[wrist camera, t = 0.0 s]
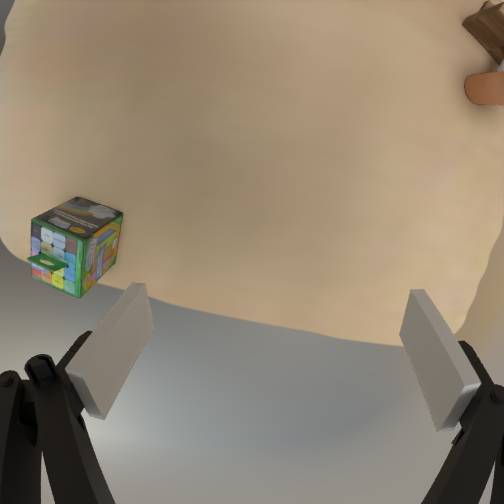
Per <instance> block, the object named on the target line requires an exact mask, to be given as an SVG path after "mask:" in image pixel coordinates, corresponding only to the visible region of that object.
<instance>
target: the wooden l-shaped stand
mask: <svg viewBox="0 0 504 504" xmlns="http://www.w3.org/2000/svg"><path fill="white" fill-rule="evenodd" d="M462 25H463V26H464V27H465V28H466V29H467V30H468V31H469V32H470V33H471V34H472V35H473V36H474V37H475V38H476V39H477V40H478V42H479V43H480V44H481V45H482V46H483V47H484V48H485V49H486V50H487V51H488V53H489V54H490V55H491V56H492V57H493V58H494V59H495V61H496V62H497V63H498V64H499V65H500V64H501V63H502V61H503V59H504V2H502V3H500V4H497V5H495V6H494V5H493V4H492V3H491V1H490V0H488V1H486V2H485V3H484V4H483V6H482V8H481V9H480V11H479V12H478V13H476V14H473V15H471V16H469V17H467V18H466V20H465V21H464V23H463V24H462Z"/></svg>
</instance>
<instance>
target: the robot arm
mask: <svg viewBox="0 0 504 504" xmlns="http://www.w3.org/2000/svg"><path fill="white" fill-rule="evenodd" d="M154 328H155V327H154V324H153V318H152V314H151V310H150V305H149V299H148V294H147V289H146V284H144V283H132V284H131V285H130V286H129V287H128V288H127V290H126V291H125V292H124V293H123V294H122V296H121V297H120V298H119V299H118V301H117V302H116V303H115V304H114V305H113V307H112V308H111V309H110V311H109V312H108V313H107V314H106V315H105V317H104V318H103V319H102V321H101V322H100V323H99V324H98V326H97V327H96V328H95V329H94V331H93V332H92V331H87V332H85V333H84V334H82V335H81V336H79V337H78V339H77V340H76V341H75V343H74V344H73V345H72V346H71V347H70V349H69V351H67V353H66V354H65V355H64V356H63V358H62V359H61V360H60V362H59V363H58V364H57V365H56V366H55V364H54V362H53V360H52V357H50V356H49V355H46V354H40V355H36V356H34V357H32V358H31V359H29V360H28V361H27V363H26V364H25V368H24V370H25V372H26V373H27V375H28V377H29V379H30V380H21V378H20V376H19V375H18V373H17V372H15V371H12V370H9V371H5V372H3V373H1V374H0V504H41V458H42V452H43V457H44V462H45V466H46V471H47V475H48V479H49V483H50V487H51V490H52V494H53V497H54V501H55V504H115V501H114V499H113V497H112V495H111V493H110V490H109V488H108V486H107V483H106V481H105V478H104V476H103V474H102V471H101V468H100V466H99V463H98V460H97V458H96V455H95V452H94V450H93V447H92V444H91V441H90V438H89V435H88V432H87V429H86V425H85V422H84V419H83V417H82V415H81V412H82V410H83V408H85V409H86V411H87V413H88V414H89V416H91V417H95V418H98V419H102V420H105V418H106V416H107V414H108V412H109V410H110V408H111V406H112V405H113V403H114V401H115V399H116V397H117V395H118V393H119V391H120V389H121V388H122V386H123V384H124V382H125V380H126V378H127V377H128V375H129V373H130V371H131V369H132V367H133V365H134V364H135V362H136V360H137V358H138V356H139V355H140V353H141V351H142V349H143V347H144V346H145V344H146V342H147V340H148V339H149V337H150V335H151V333H152V331H153V329H154ZM399 335H400V337H401V340H402V342H403V344H404V347H405V349H406V352H407V354H408V356H409V359H410V361H411V364H412V366H413V369H414V371H415V374H416V376H417V379H418V381H419V384H420V386H421V389H422V392H423V394H424V397H425V400H426V402H427V405H428V408H429V410H430V413H431V416H432V419H433V422H434V425H435V428H436V431H437V433H441V432H445V431H451V430H453V429H454V428H455V426H456V425H457V423H458V422H459V421H460V424H461V427H462V428H461V430H460V431H459V433H458V434H457V436H456V437H455V439H454V440H453V441H452V444H453V446H452V448H451V450H450V452H449V454H448V456H447V458H446V460H445V462H444V464H443V466H442V468H441V470H440V472H439V474H438V475H437V477H436V479H435V481H434V483H433V484H432V486H431V488H430V490H429V491H428V493H427V495H426V497H425V498H424V500H423V502H422V503H421V504H478V503H479V501H480V498H481V496H482V494H483V491H484V489H485V486H486V484H487V481H488V479H489V476H490V474H491V471H492V468H493V465H494V462H495V471H494V479H493V487H492V494H491V500H490V504H504V387H503V386H501V385H497V384H495V385H494V383H493V381H492V380H491V378H490V376H489V374H488V373H487V371H486V369H485V368H484V366H483V364H482V363H481V361H480V359H479V358H478V357H477V354H476V353H475V351H474V350H473V348H472V347H471V346H470V345H469V344H468V343H466V342H465V341H457V340H456V338H455V336H454V335H453V333H452V331H451V330H450V328H449V327H448V325H447V323H446V322H445V320H444V319H443V317H442V316H441V314H440V313H439V311H438V310H437V308H436V306H435V305H434V303H433V302H432V300H431V299H430V298H429V296H428V295H427V293H426V292H425V290H424V289H415V290H410V294H409V299H408V303H407V307H406V311H405V315H404V319H403V323H402V326H401V330H400V334H399ZM495 459H496V460H495Z"/></svg>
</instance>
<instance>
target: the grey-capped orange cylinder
mask: <svg viewBox="0 0 504 504" xmlns="http://www.w3.org/2000/svg"><path fill="white" fill-rule="evenodd" d="M465 91H466V94H467V96H468V98H469V99H470V100H471V101H472V102H473V103H475V104H478V105H504V59H503V61H502V63H501V64H500V66H499V68H498V70H497V71H496V72H489V73H481V74H474V75H470V76H468V77H467V79H466V81H465Z"/></svg>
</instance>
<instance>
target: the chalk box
mask: <svg viewBox="0 0 504 504" xmlns="http://www.w3.org/2000/svg"><path fill="white" fill-rule="evenodd" d="M122 216H123V213H121V212H119V211H116V210H113V209H111V208H108V207H105V206H102V205H100V204H96V203H94V202H91V201H88V200H85V199H82V198H80V197H75V198H74V199H72V200H70V201H67V202H65V203H63V204H61V205H59V206H57V207H55V208H53V209H51V210H49V211H47V212H45V213H43V214H41V215H39V216H37V217H35V218H32V219H31V257H28V258H27V260H28V261H30V262H31V276H32V277H33V278H35V279H37V280H39V281H41V282H43V283H45V284H47V285H49V286H52V287H54V288H56V289H58V290H61V291H63V292H65V293H67V294H70V295H72V296H74V297H77V298H81V297H82V296H83V295H84V294H85V293H86V292H87V291H88V290H89V289H90V288H91V287H92V286H93V285H94V284H95V283H96V282H97V281H98V280H99V279H100V278H101V276H102V275H103V274H104V273H105V272H106V271H107V270H108V269H109V268H110V267H111V266H112V265H113V264H114V263H115V259H116V252H117V246H118V240H119V233H120V227H121V222H122Z"/></svg>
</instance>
